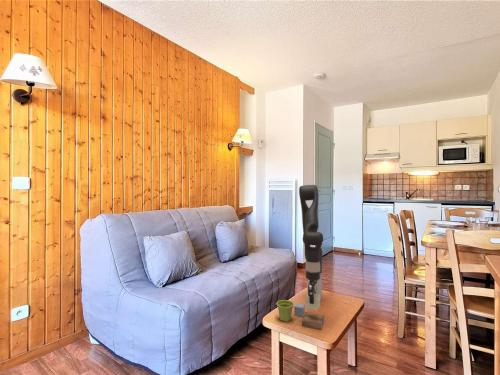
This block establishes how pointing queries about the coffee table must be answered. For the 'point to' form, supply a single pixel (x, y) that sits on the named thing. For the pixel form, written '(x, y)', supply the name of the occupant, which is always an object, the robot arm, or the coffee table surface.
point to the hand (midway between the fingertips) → (312, 301)
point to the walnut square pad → (313, 320)
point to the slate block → (299, 309)
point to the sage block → (316, 302)
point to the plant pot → (285, 309)
